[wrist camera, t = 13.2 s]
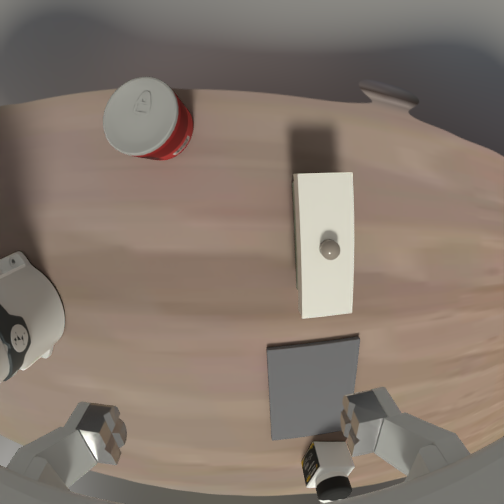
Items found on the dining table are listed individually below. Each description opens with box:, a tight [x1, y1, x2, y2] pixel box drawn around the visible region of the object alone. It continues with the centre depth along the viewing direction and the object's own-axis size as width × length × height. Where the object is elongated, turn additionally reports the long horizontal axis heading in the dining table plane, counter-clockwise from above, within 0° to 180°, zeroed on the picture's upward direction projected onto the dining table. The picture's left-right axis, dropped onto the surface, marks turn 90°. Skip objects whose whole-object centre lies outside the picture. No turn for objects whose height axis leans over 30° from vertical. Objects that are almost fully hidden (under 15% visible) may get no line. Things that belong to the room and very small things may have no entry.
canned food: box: [103, 77, 193, 160], centre depth 31 cm, size 8×8×11 cm
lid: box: [293, 172, 354, 319], centre depth 33 cm, size 6×16×4 cm, turn 4°
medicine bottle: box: [301, 441, 355, 503], centre depth 44 cm, size 7×7×12 cm
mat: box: [267, 337, 360, 440], centre depth 46 cm, size 14×20×1 cm
